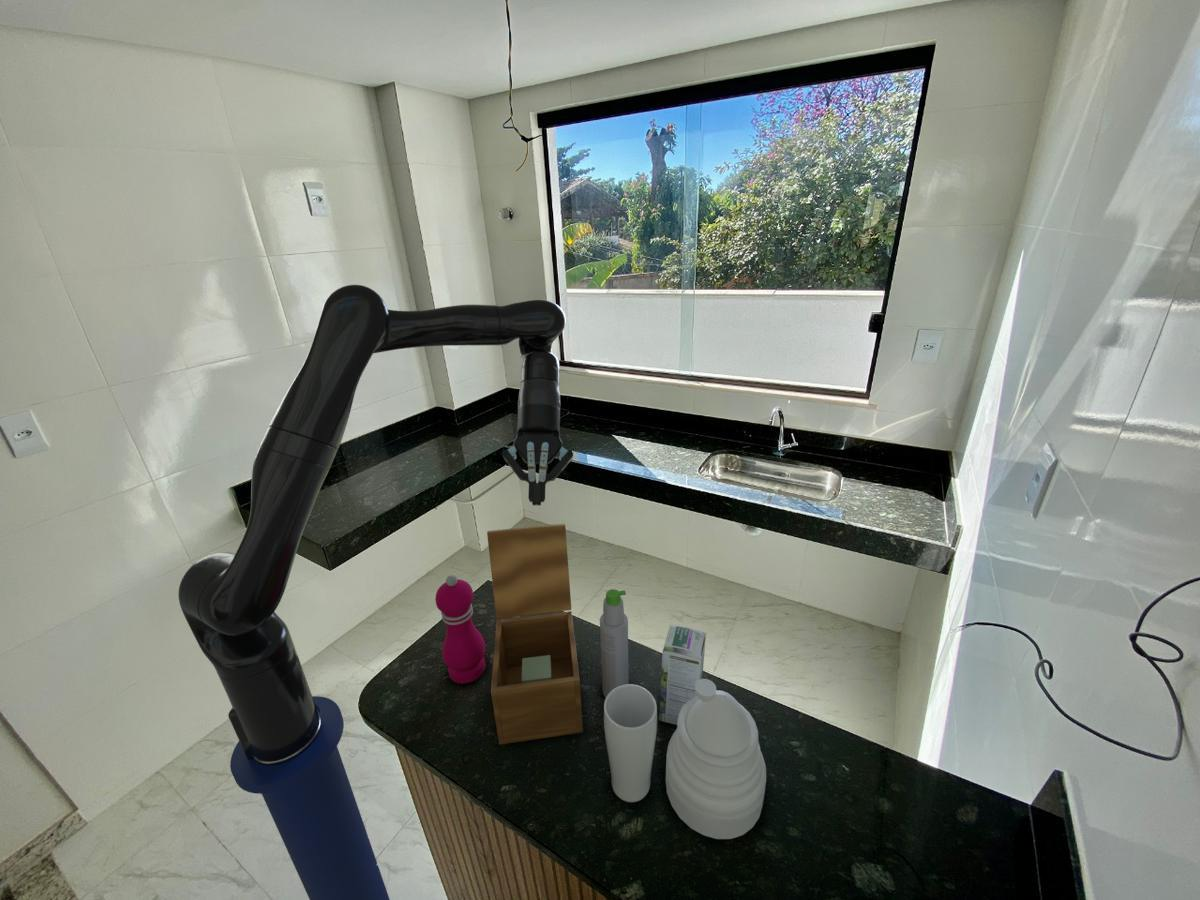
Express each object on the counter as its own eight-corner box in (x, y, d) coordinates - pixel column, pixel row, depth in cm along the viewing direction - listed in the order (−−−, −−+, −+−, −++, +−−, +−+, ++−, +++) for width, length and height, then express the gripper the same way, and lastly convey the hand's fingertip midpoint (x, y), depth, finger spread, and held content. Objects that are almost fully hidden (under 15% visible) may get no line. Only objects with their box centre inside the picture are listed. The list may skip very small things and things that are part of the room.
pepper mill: (437, 681, 83) (417, 586, 76) (460, 650, 90) (444, 559, 82) (474, 690, 81) (458, 594, 74) (495, 658, 88) (482, 566, 80)
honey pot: (664, 831, 61) (667, 731, 54) (666, 737, 73) (669, 644, 66) (771, 846, 59) (788, 744, 52) (755, 747, 71) (767, 652, 64)
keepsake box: (582, 732, 74) (579, 680, 70) (499, 744, 72) (490, 691, 68) (574, 658, 87) (571, 610, 83) (503, 667, 86) (496, 619, 81)
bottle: (627, 703, 78) (626, 603, 71) (601, 701, 79) (597, 602, 71) (629, 681, 82) (628, 584, 75) (603, 679, 83) (600, 583, 75)
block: (526, 719, 75) (521, 680, 72) (526, 695, 79) (522, 658, 76) (554, 715, 76) (551, 677, 73) (553, 691, 80) (550, 654, 77)
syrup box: (665, 691, 80) (667, 622, 74) (701, 700, 78) (706, 630, 73) (658, 721, 75) (660, 649, 69) (697, 731, 73) (702, 658, 68)
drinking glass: (596, 791, 66) (592, 712, 60) (622, 751, 71) (621, 675, 65) (640, 821, 62) (640, 740, 56) (664, 776, 67) (666, 698, 61)
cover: (565, 525, 79) (565, 523, 80) (486, 532, 78) (487, 530, 78) (571, 610, 82) (571, 607, 83) (496, 618, 81) (496, 616, 82)
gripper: (574, 416, 91) (574, 508, 87) (503, 414, 90) (499, 507, 86) (577, 403, 84) (576, 502, 80) (499, 400, 83) (494, 501, 79)
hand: (536, 504), depth 83 cm, fingers closed
